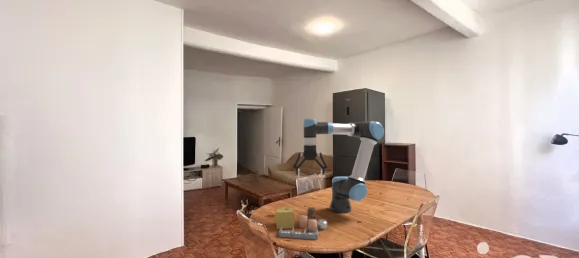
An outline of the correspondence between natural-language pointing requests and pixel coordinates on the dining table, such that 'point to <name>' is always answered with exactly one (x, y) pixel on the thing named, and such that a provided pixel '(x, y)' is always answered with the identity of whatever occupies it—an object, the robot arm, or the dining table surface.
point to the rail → (298, 234)
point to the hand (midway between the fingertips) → (310, 180)
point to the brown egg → (303, 221)
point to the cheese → (285, 218)
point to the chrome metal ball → (321, 224)
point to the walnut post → (311, 213)
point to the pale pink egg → (312, 225)
